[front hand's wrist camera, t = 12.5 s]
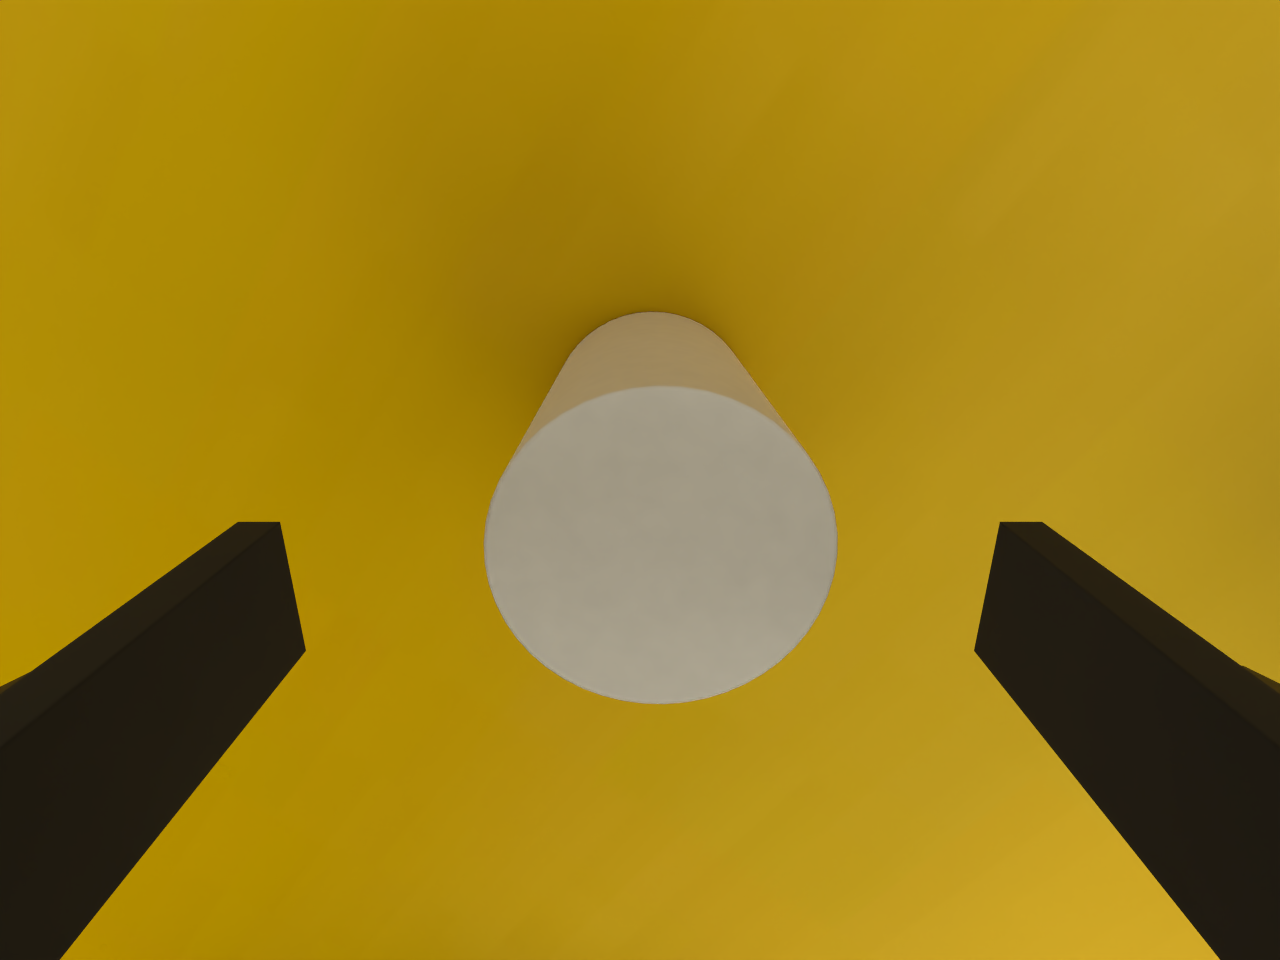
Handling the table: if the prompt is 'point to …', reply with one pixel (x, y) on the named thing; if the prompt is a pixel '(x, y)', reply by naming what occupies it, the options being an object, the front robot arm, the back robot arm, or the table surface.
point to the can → (659, 520)
